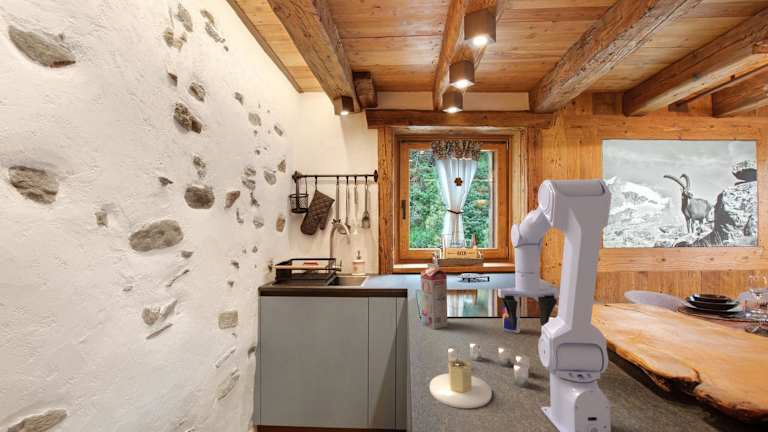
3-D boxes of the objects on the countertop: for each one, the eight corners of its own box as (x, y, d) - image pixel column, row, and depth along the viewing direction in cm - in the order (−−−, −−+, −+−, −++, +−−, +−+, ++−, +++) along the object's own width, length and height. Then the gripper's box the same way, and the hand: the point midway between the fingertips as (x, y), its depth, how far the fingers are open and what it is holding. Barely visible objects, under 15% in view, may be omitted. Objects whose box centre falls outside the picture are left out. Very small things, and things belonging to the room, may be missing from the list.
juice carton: (432, 329, 108) (431, 265, 109) (421, 324, 114) (420, 263, 115) (447, 326, 111) (446, 264, 112) (435, 321, 117) (434, 262, 118)
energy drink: (499, 330, 107) (498, 294, 107) (511, 327, 109) (510, 293, 109) (512, 335, 102) (511, 298, 102) (523, 332, 104) (522, 296, 104)
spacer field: (542, 387, 69) (541, 368, 69) (458, 387, 69) (458, 369, 69) (512, 356, 85) (512, 341, 86) (445, 356, 86) (444, 341, 86)
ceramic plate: (500, 408, 61) (500, 404, 61) (434, 408, 61) (434, 404, 61) (481, 376, 74) (481, 373, 74) (426, 376, 74) (426, 373, 74)
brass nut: (473, 393, 65) (472, 368, 65) (452, 393, 65) (451, 368, 65) (467, 381, 70) (466, 358, 70) (447, 381, 70) (447, 358, 71)
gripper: (548, 269, 83) (549, 320, 83) (493, 269, 83) (494, 321, 83) (562, 273, 76) (564, 329, 76) (503, 273, 76) (504, 329, 76)
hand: (528, 325), depth 79 cm, fingers open, 7 cm apart
